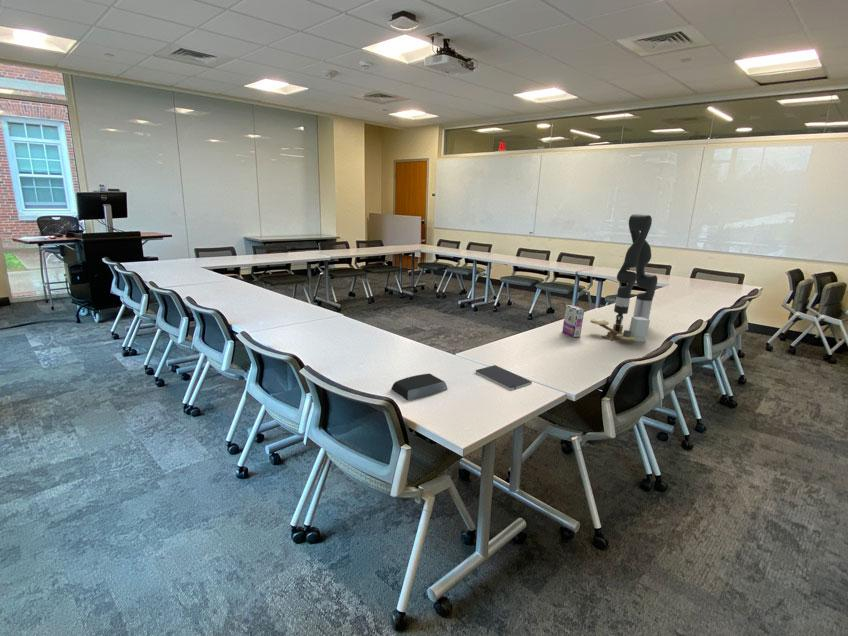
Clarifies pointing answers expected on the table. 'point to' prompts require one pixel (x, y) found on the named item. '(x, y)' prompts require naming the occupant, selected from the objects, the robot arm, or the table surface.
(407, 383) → the external hard drive
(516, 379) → the notebook
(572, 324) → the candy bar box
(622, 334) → the balance
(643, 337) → the supplement box
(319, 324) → the table surface
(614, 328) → the walnut block
